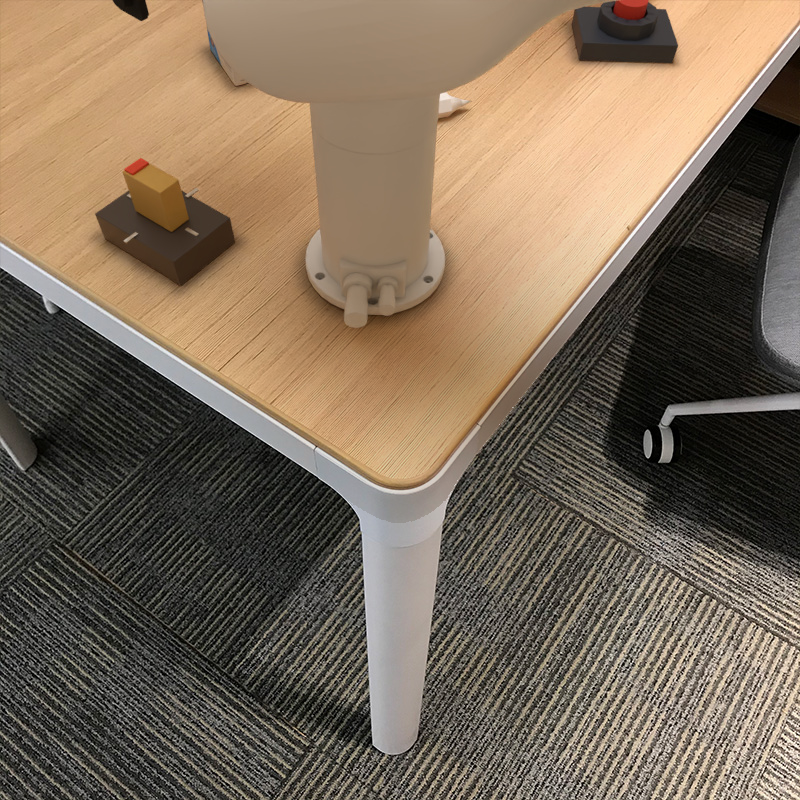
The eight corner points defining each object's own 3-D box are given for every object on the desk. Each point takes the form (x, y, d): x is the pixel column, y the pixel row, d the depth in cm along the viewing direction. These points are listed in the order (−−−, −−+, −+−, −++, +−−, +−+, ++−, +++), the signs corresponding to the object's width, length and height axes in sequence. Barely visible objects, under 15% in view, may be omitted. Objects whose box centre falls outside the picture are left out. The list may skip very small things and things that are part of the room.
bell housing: (672, 63, 90) (683, 30, 87) (578, 60, 90) (586, 27, 86) (660, 26, 94) (670, -7, 91) (571, 23, 94) (578, -9, 91)
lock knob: (189, 219, 68) (178, 177, 65) (171, 232, 67) (159, 190, 64) (153, 198, 70) (140, 155, 66) (135, 211, 69) (120, 168, 65)
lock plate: (242, 237, 72) (237, 210, 69) (173, 292, 68) (165, 266, 65) (166, 193, 75) (158, 167, 72) (96, 244, 71) (85, 217, 68)
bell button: (646, 22, 88) (651, 7, 87) (615, 21, 88) (619, 6, 87) (641, 5, 90) (645, -10, 89) (611, 5, 90) (614, -11, 89)
